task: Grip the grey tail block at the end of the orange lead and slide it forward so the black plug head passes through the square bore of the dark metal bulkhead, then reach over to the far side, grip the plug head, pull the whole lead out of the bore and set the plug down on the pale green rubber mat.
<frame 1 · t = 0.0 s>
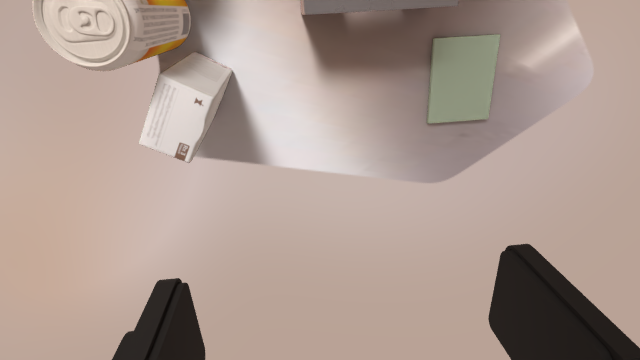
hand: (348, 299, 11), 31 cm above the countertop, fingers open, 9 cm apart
skincare box: (205, 87, 38), on the countertop
beer can: (160, 16, 35), on the countertop
mat: (460, 80, 40), on the countertop
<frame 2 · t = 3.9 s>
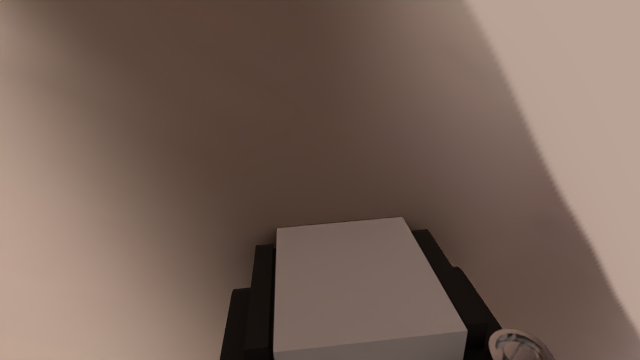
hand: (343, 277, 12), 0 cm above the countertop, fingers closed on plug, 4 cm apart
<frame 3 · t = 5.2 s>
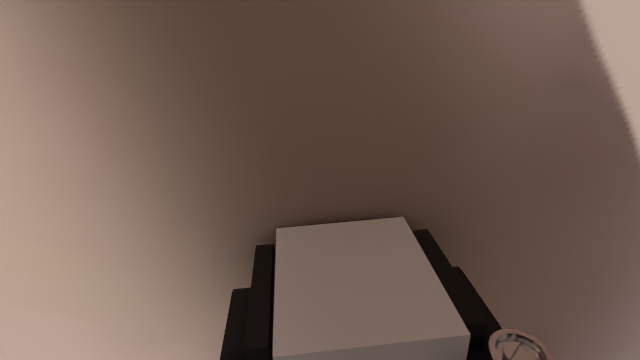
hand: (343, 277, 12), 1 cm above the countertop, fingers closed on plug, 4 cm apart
when the fingers open (1 cm above the countertop, at t = 6.7 s): plug stays where it is, on the countertop.
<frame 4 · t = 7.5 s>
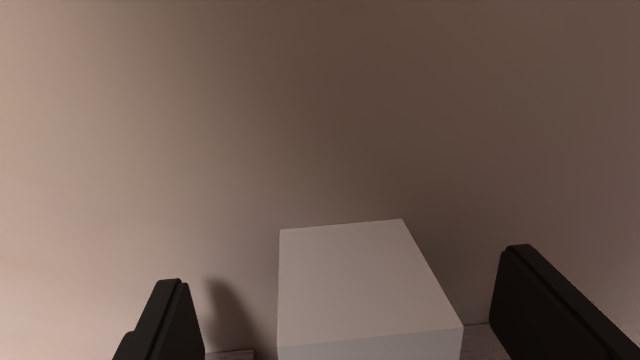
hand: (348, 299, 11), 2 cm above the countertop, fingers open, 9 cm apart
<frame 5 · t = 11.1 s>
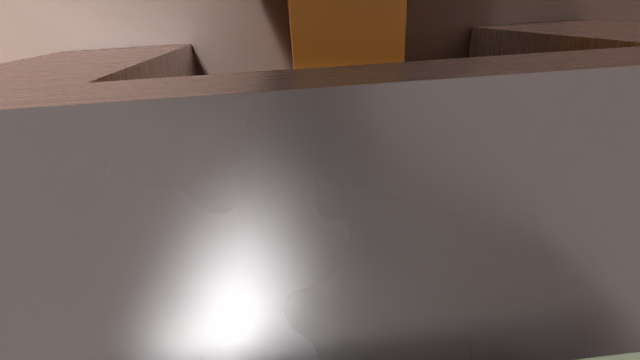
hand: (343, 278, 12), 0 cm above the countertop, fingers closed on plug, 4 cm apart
plug: (342, 268, 12), on the countertop, touching gripper
bulkhead: (337, 114, 10), on the countertop
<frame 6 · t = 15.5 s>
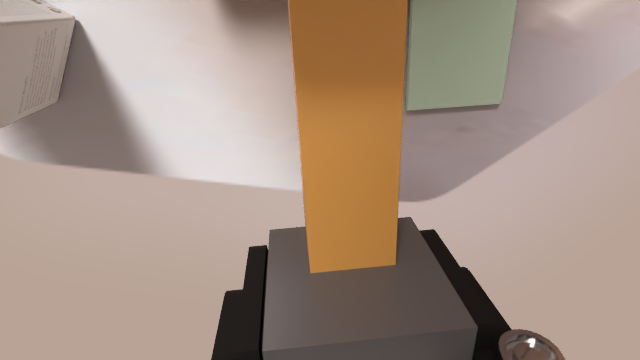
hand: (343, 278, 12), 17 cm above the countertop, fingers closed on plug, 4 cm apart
plug: (342, 268, 12), point 16 cm above the countertop, touching gripper
skincare box: (37, 50, 23), on the countertop
mat: (458, 40, 25), on the countertop
when the fingers open (2 cm above the countertop, at t = 19.8 s): plug drops 1 cm, resting on mat.
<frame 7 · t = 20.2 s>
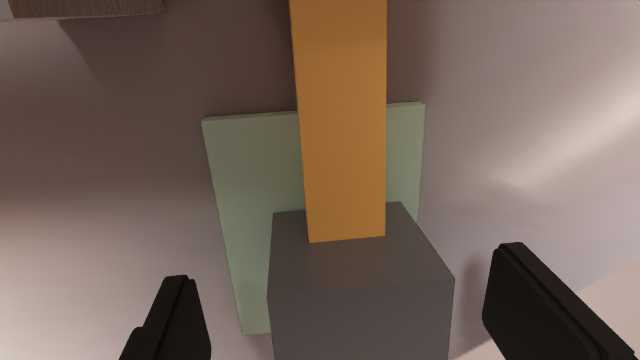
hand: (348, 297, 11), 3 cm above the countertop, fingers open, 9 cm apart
plug: (339, 250, 13), point 1 cm above the countertop, touching mat
mat: (321, 227, 14), on the countertop
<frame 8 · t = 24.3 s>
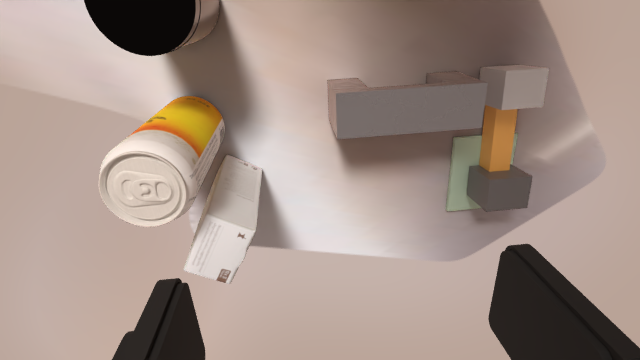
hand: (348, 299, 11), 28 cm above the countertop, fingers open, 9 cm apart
plug: (486, 179, 41), point 1 cm above the countertop, touching mat
skincare box: (235, 184, 40), on the countertop
supplement container: (182, 2, 32), on the countertop
beer can: (195, 124, 37), on the countertop
mat: (479, 172, 42), on the countertop
bulkhead: (391, 95, 37), on the countertop
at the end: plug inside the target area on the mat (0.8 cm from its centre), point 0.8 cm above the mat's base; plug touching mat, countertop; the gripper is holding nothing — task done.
